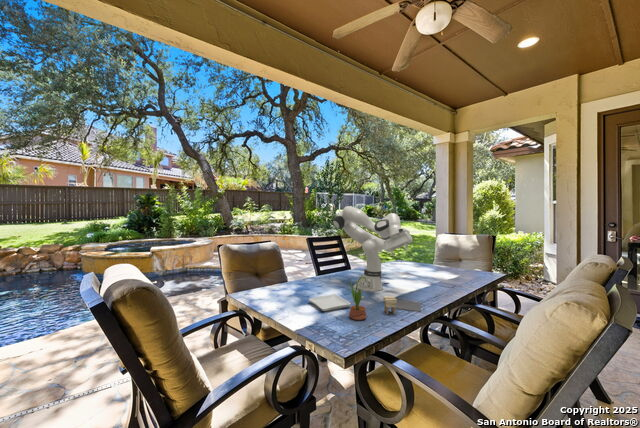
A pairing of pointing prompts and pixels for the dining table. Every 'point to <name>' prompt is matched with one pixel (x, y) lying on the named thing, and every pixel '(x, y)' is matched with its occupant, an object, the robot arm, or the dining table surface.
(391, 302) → the birch stool
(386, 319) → the dining table surface
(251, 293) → the dining table surface
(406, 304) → the grey-brown square panel
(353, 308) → the potted flower
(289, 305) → the dining table surface
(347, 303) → the salad plate
